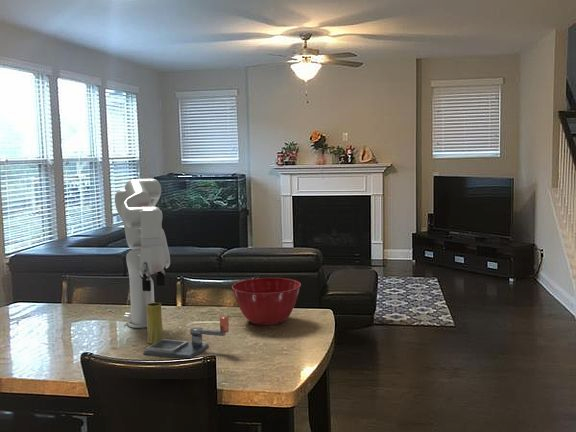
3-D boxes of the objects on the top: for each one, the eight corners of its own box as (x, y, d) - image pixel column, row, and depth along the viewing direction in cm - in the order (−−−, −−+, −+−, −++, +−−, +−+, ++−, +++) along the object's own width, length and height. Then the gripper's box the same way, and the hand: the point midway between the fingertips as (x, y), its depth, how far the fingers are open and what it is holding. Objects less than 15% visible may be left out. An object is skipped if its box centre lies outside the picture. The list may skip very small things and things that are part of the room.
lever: (188, 334, 214) (187, 316, 213) (194, 331, 218) (193, 313, 217) (225, 337, 209) (225, 319, 208) (231, 334, 213) (230, 316, 212)
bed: (143, 354, 210) (143, 339, 210) (164, 342, 223) (164, 328, 223) (189, 358, 204) (189, 343, 204) (208, 346, 217) (208, 332, 217)
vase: (148, 339, 227) (146, 302, 226) (164, 339, 228) (163, 301, 226) (145, 344, 221) (144, 306, 220) (162, 343, 222) (161, 305, 220)
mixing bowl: (296, 331, 234) (295, 292, 233) (225, 329, 239) (223, 291, 237) (305, 313, 262) (305, 278, 260) (242, 311, 266) (240, 277, 265)
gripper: (155, 238, 230) (157, 282, 232) (129, 245, 214) (132, 292, 216) (172, 239, 228) (174, 283, 230) (148, 245, 212) (150, 293, 213)
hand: (153, 288), depth 223 cm, fingers open, 9 cm apart
